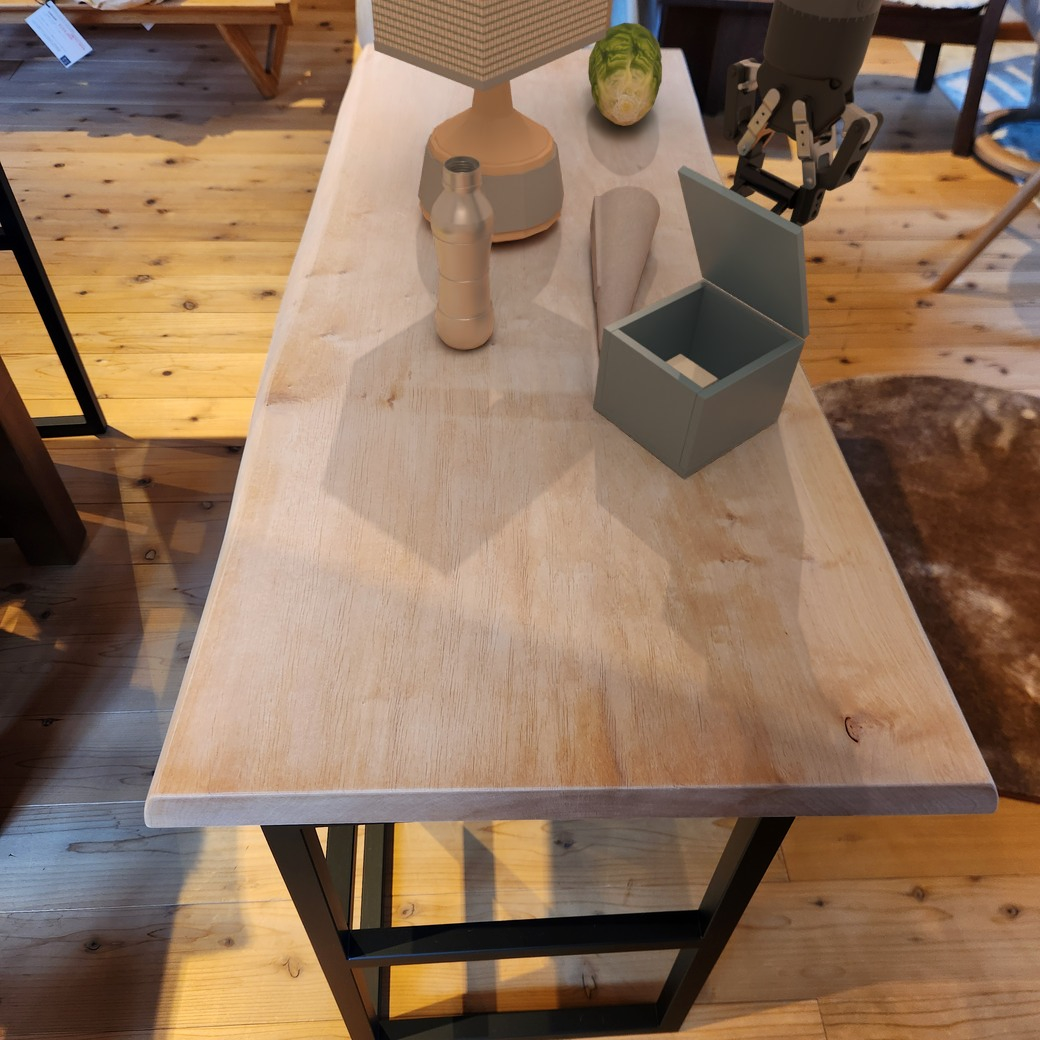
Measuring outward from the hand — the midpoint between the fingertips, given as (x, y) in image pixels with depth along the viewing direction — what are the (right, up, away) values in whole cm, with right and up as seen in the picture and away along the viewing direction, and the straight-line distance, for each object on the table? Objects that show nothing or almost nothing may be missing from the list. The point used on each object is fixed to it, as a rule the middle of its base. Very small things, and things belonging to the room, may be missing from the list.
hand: (771, 208), depth 75 cm
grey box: (-5, -16, +13) cm, 22 cm away
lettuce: (-6, +37, +60) cm, 71 cm away
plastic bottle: (-28, -7, +20) cm, 36 cm away
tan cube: (-7, -17, +11) cm, 21 cm away
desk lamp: (-26, +13, +38) cm, 48 cm away
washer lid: (-2, -4, +2) cm, 5 cm away
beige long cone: (-9, -1, +27) cm, 29 cm away
